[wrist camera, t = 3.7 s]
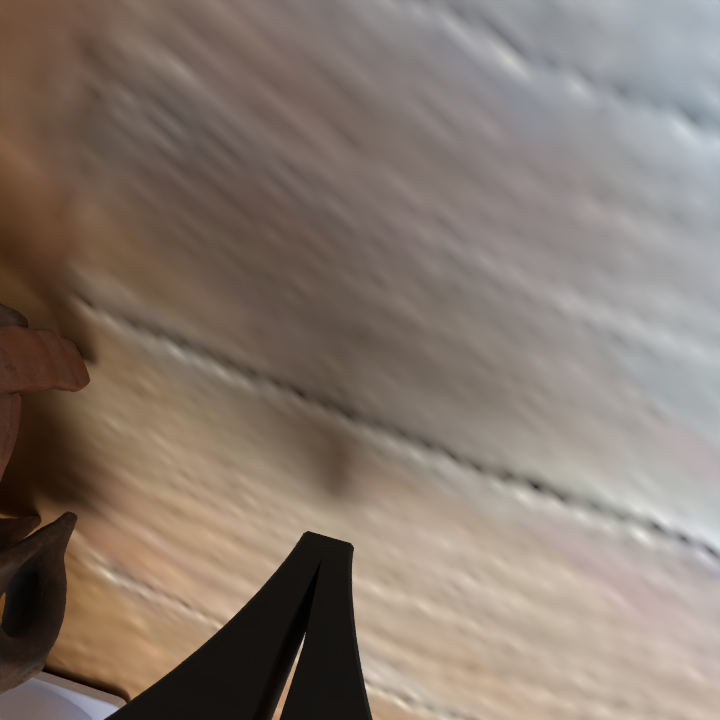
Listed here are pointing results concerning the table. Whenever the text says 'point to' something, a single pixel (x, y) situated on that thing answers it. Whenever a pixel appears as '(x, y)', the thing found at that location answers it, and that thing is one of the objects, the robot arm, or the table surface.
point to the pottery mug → (48, 544)
